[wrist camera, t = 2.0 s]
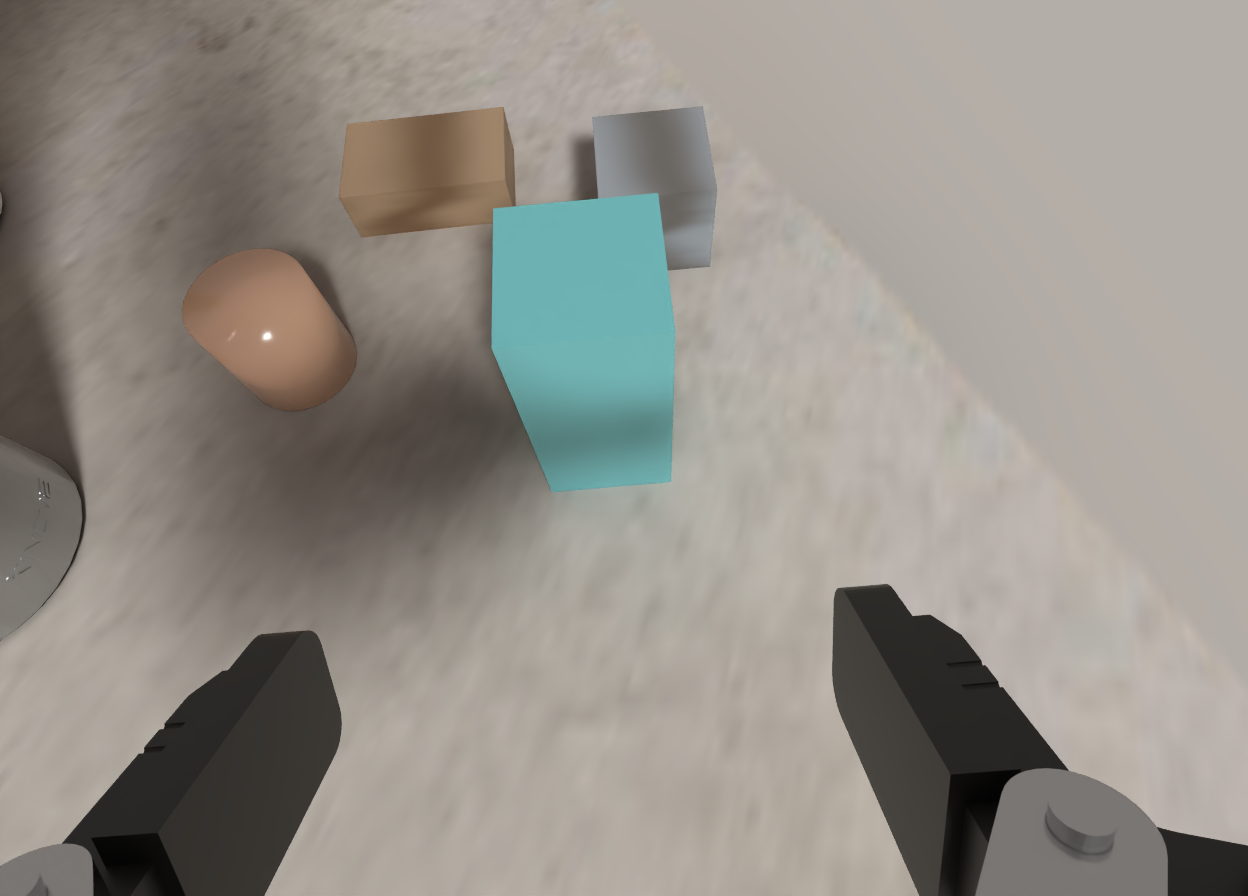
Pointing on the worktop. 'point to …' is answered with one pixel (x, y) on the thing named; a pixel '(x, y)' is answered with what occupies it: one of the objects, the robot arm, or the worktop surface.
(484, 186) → the walnut slab
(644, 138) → the slate cube
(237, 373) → the peach cylinder
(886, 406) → the worktop surface
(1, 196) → the supplement bottle
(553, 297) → the teal pillar
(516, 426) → the worktop surface
